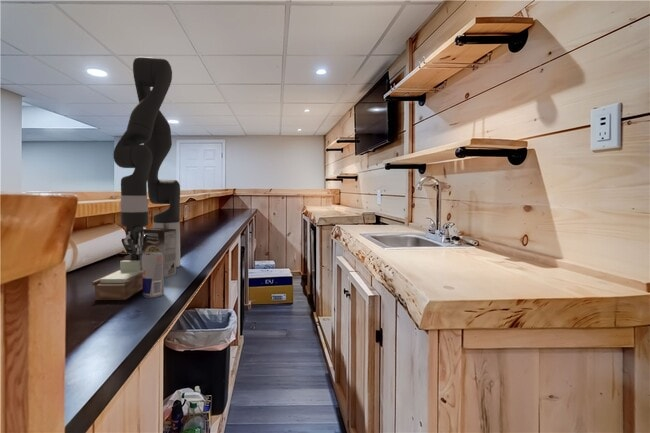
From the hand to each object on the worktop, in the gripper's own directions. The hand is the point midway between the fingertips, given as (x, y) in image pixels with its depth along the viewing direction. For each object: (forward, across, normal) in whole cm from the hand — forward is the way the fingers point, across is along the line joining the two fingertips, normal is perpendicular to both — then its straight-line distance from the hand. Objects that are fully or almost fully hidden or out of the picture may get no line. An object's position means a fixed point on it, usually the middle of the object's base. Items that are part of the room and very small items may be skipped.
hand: (135, 266), depth 112 cm
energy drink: (+6, -12, -10) cm, 16 cm away
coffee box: (+6, +13, -2) cm, 15 cm away
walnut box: (+6, -9, 0) cm, 10 cm away
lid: (+2, -8, 0) cm, 8 cm away
